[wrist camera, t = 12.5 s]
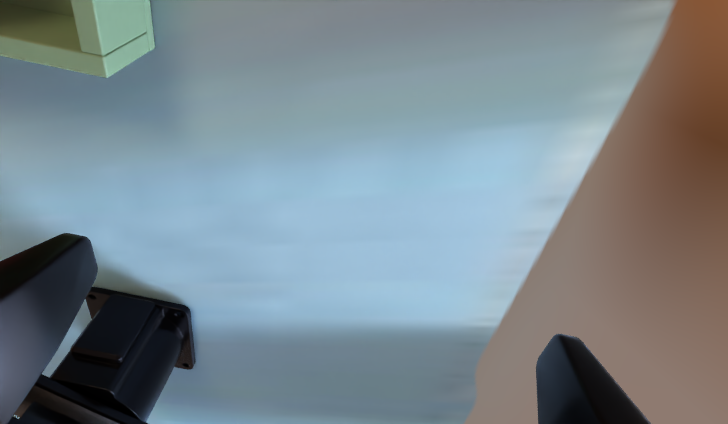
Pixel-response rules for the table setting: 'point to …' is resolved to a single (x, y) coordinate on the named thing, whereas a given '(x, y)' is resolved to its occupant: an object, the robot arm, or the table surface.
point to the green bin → (77, 33)
